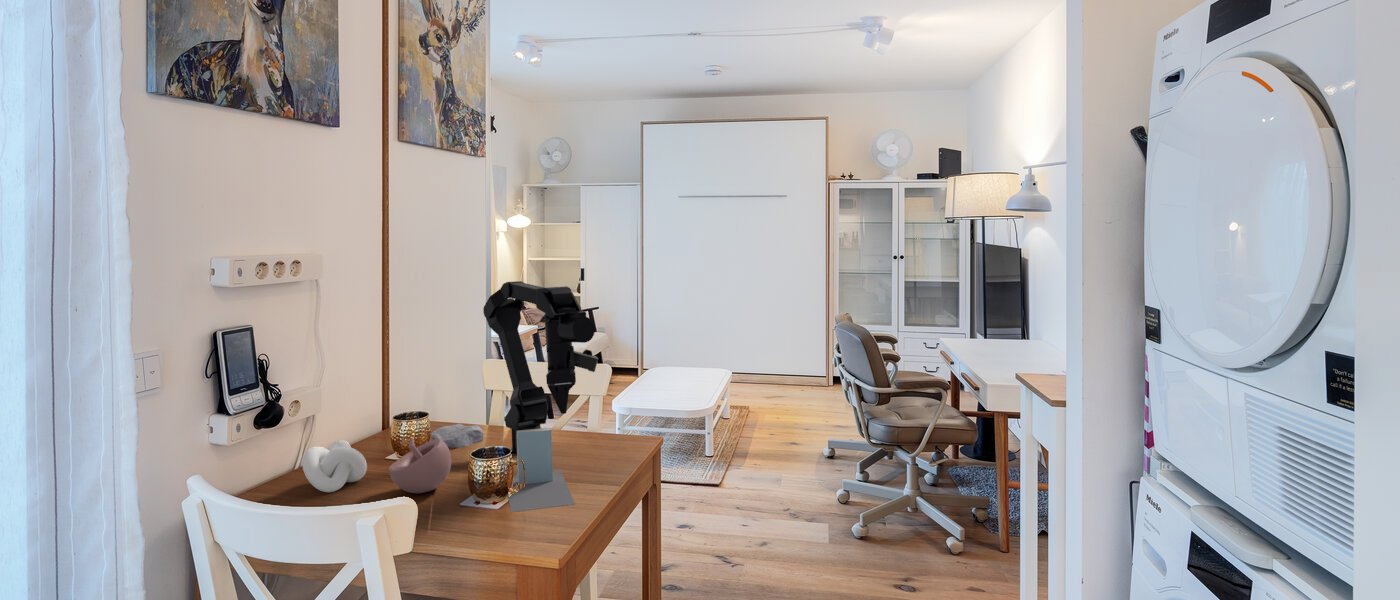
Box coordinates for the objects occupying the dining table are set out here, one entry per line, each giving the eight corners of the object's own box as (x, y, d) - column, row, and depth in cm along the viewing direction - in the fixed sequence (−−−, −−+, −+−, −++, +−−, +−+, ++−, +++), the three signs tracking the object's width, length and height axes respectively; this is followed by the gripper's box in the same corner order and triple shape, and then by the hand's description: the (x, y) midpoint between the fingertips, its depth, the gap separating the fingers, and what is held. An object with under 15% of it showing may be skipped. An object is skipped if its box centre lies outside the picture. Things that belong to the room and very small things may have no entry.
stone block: (457, 457, 173) (488, 439, 182) (453, 439, 172) (484, 422, 180) (427, 451, 180) (457, 435, 188) (422, 434, 179) (453, 418, 187)
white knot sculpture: (296, 485, 149) (294, 443, 148) (357, 472, 156) (355, 433, 156) (307, 499, 140) (305, 455, 139) (371, 485, 148) (369, 444, 147)
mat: (504, 477, 151) (504, 475, 151) (560, 471, 155) (560, 469, 155) (510, 514, 131) (510, 512, 131) (575, 506, 134) (575, 503, 134)
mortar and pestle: (391, 486, 147) (389, 432, 146) (452, 478, 151) (449, 426, 150) (388, 505, 136) (385, 448, 135) (453, 497, 140) (450, 441, 139)
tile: (518, 481, 147) (516, 430, 147) (551, 477, 150) (550, 427, 149) (518, 484, 146) (517, 433, 145) (552, 480, 148) (551, 429, 147)
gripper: (596, 342, 151) (601, 413, 151) (593, 336, 169) (597, 400, 170) (544, 346, 149) (549, 418, 149) (546, 340, 167) (550, 404, 167)
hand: (563, 410), depth 159 cm, fingers open, 9 cm apart
